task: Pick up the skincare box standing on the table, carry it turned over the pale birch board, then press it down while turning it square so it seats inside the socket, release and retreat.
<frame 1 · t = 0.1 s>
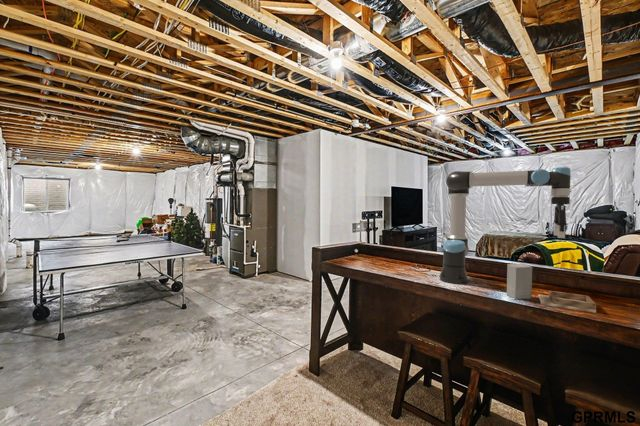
hand: (559, 236, 151), 28 cm above the table, fingers open, 13 cm apart
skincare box: (518, 297, 137), on the table
socket board: (564, 304, 128), on the table
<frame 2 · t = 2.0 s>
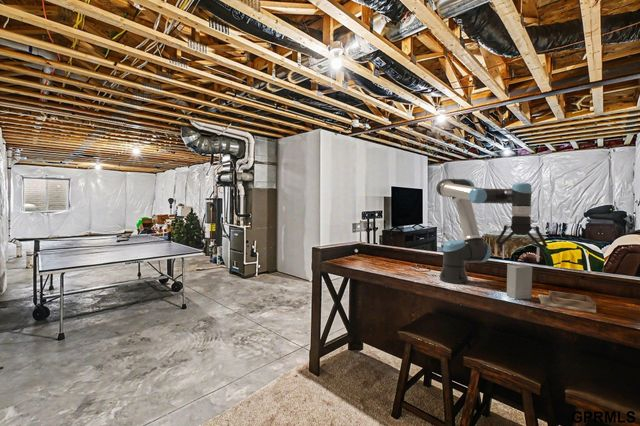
hand: (520, 259, 137), 18 cm above the table, fingers open, 13 cm apart
nothing on the table moved.
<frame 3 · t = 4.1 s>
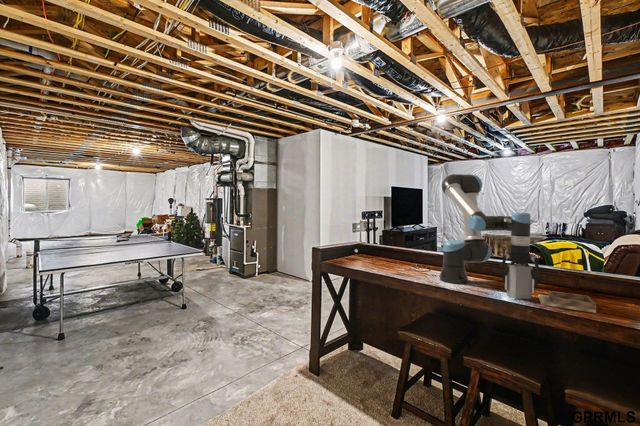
hand: (518, 290, 137), 3 cm above the table, fingers closed on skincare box, 10 cm apart
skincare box: (518, 297, 137), on the table, touching gripper
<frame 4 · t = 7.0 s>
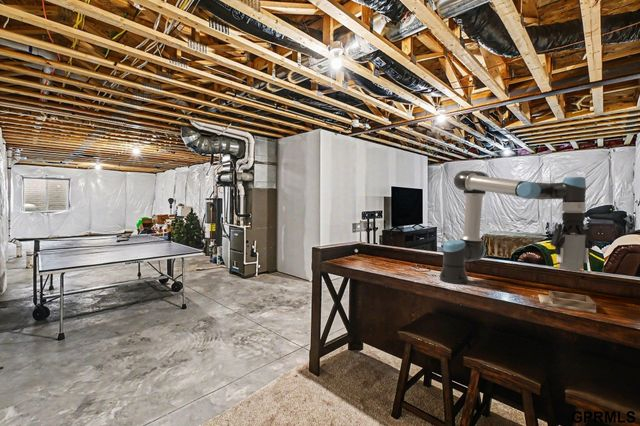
hand: (572, 262, 126), 19 cm above the table, fingers closed on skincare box, 10 cm apart
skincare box: (571, 269, 126), point 16 cm above the table, touching gripper
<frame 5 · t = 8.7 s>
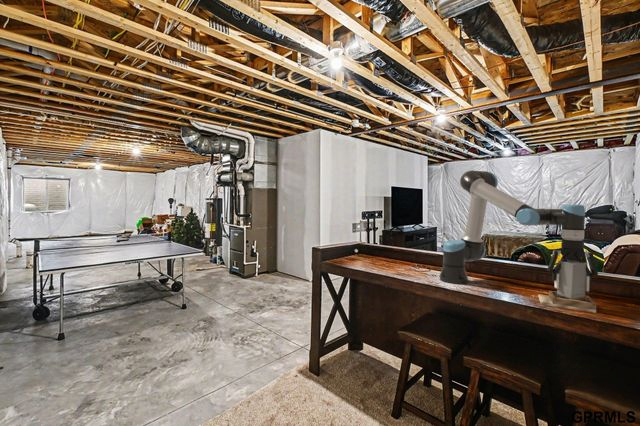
hand: (571, 289, 127), 7 cm above the table, fingers closed on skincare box, 10 cm apart
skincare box: (571, 296, 127), point 4 cm above the table, touching gripper
when the fingers open (5 cm above the table, at t = 10.0 s): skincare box stays where it is, resting on socket board.
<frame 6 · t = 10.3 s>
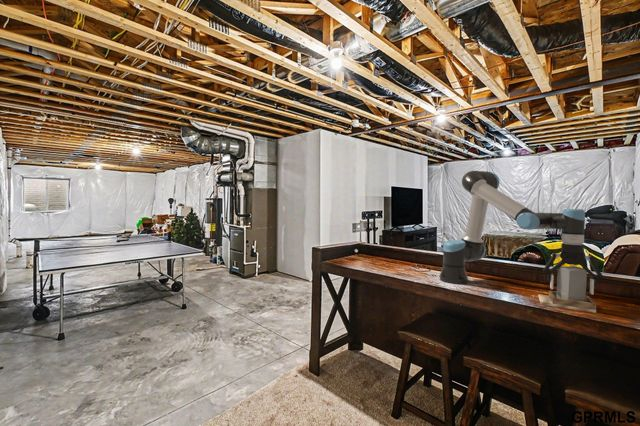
hand: (571, 291, 127), 6 cm above the table, fingers open, 13 cm apart
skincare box: (570, 302, 127), point 1 cm above the table, touching socket board
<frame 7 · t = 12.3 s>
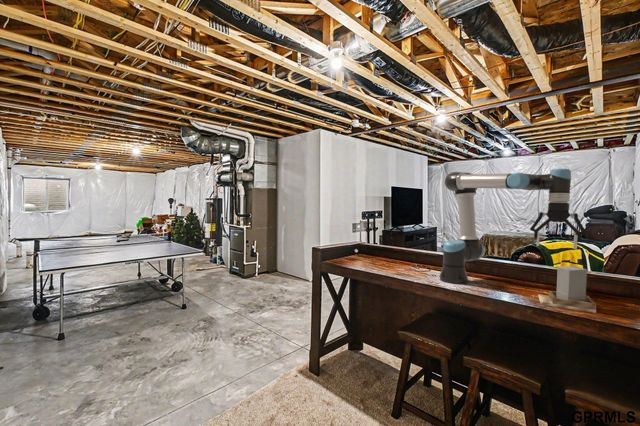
hand: (555, 247, 134), 25 cm above the table, fingers open, 13 cm apart
nothing on the table moved.
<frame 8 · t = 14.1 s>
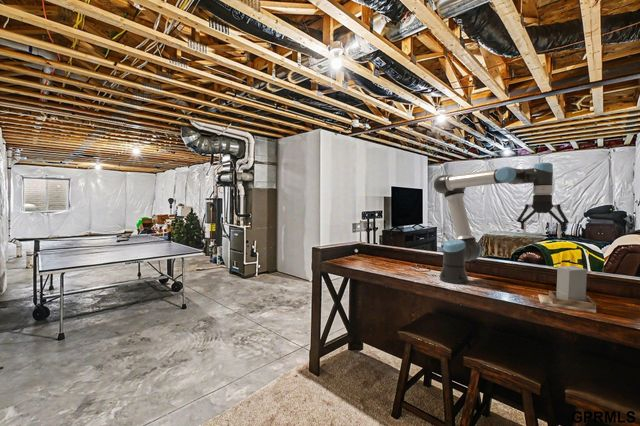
hand: (541, 237, 142), 29 cm above the table, fingers open, 13 cm apart
nothing on the table moved.
at the end: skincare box inside the target area on the socket board (0.0 cm from its centre), point 1.0 cm above the socket board's base; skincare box tilted 0°; the gripper is holding nothing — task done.
